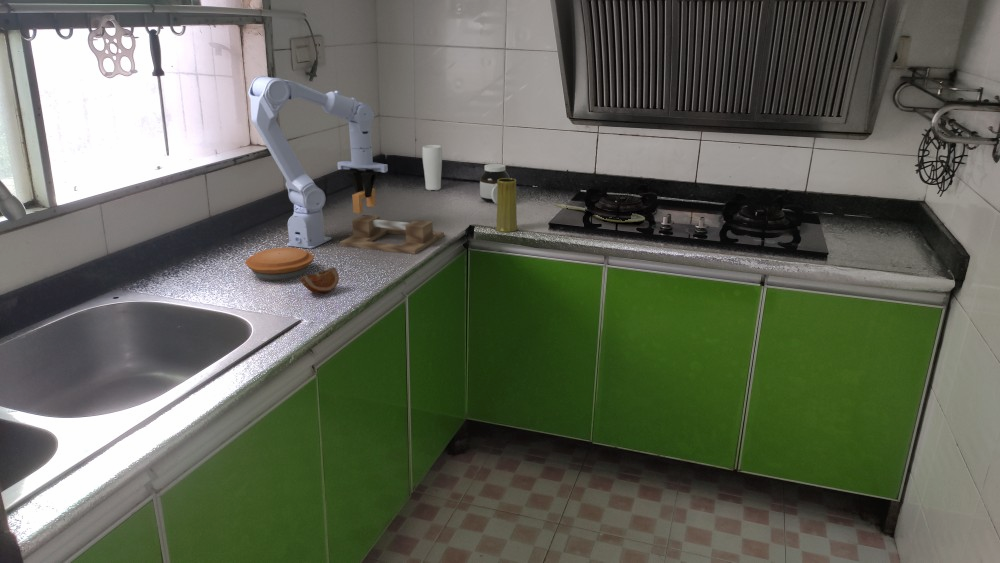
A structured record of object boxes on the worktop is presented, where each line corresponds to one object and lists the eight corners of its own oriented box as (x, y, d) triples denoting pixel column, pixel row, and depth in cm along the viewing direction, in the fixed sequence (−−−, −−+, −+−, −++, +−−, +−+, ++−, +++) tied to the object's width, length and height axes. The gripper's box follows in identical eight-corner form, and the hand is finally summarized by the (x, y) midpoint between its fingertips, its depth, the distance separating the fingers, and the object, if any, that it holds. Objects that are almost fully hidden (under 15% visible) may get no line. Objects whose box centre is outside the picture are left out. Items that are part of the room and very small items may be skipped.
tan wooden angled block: (359, 213, 202) (358, 195, 201) (353, 212, 203) (352, 194, 201) (375, 205, 210) (374, 188, 209) (369, 205, 211) (368, 187, 209)
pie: (282, 259, 185) (280, 240, 183) (328, 269, 177) (327, 249, 176) (232, 277, 172) (230, 257, 171) (280, 289, 165) (278, 267, 163)
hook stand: (444, 235, 204) (443, 216, 202) (414, 254, 188) (413, 233, 186) (374, 228, 211) (372, 209, 210) (340, 245, 196) (338, 225, 194)
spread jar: (494, 196, 249) (494, 162, 245) (522, 201, 243) (522, 165, 239) (472, 203, 240) (472, 167, 236) (501, 208, 234) (501, 171, 230)
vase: (521, 229, 210) (522, 179, 205) (507, 233, 206) (507, 183, 201) (506, 225, 214) (506, 176, 209) (491, 229, 210) (491, 180, 205)
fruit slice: (311, 301, 157) (309, 279, 156) (295, 293, 162) (293, 272, 160) (345, 291, 163) (343, 270, 161) (328, 284, 167) (326, 263, 166)
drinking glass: (421, 191, 257) (419, 147, 252) (426, 186, 263) (424, 144, 258) (440, 191, 256) (439, 148, 251) (444, 187, 262) (443, 145, 257)
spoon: (544, 213, 235) (544, 206, 235) (568, 207, 242) (568, 201, 241) (629, 228, 209) (629, 221, 209) (653, 222, 216) (653, 215, 215)
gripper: (391, 146, 202) (394, 195, 207) (345, 143, 207) (348, 191, 211) (379, 150, 196) (382, 200, 200) (331, 147, 200) (335, 196, 205)
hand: (364, 196), depth 205 cm, fingers closed on tan wooden angled block, 2 cm apart
